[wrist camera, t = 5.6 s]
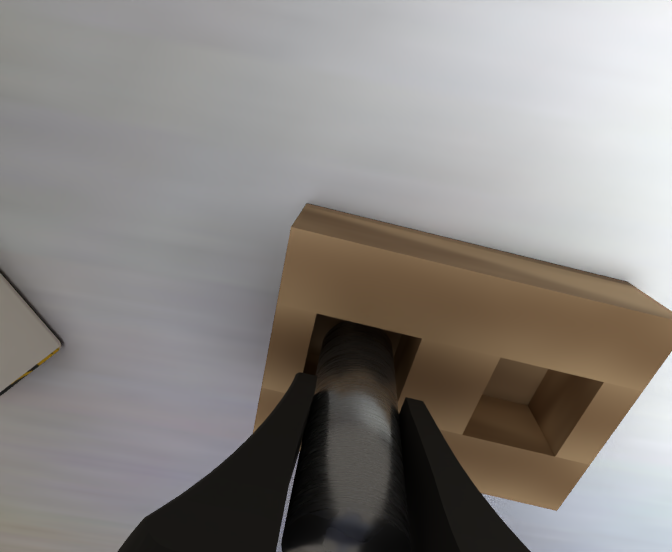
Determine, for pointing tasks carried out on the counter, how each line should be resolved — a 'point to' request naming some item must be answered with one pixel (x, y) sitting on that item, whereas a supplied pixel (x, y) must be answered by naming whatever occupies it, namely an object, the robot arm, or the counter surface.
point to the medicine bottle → (21, 338)
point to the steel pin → (351, 452)
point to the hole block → (474, 344)
